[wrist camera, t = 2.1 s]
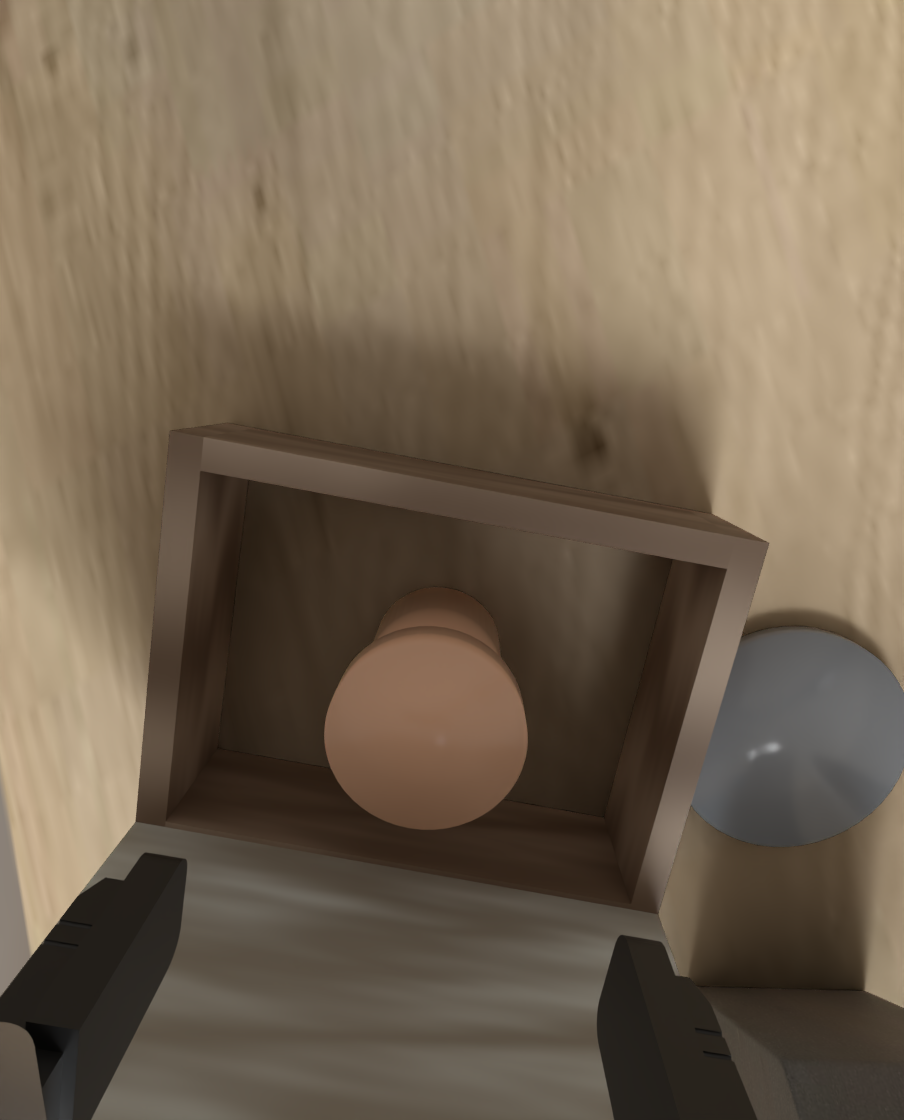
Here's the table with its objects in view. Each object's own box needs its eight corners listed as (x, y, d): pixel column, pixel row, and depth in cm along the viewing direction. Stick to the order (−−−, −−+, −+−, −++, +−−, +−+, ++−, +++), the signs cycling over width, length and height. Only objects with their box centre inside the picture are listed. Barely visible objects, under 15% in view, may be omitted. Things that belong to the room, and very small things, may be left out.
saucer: (700, 606, 27) (708, 612, 26) (931, 649, 27) (945, 657, 26) (642, 813, 29) (647, 825, 28) (856, 851, 29) (867, 864, 28)
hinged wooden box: (227, 422, 25) (-390, 507, 7) (712, 514, 26) (1300, 816, 8) (190, 770, 29) (-296, 1429, 11) (620, 847, 29) (873, 1615, 11)
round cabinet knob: (375, 561, 27) (339, 626, 19) (526, 589, 27) (547, 664, 19) (352, 701, 28) (311, 810, 21) (496, 727, 28) (505, 845, 21)
